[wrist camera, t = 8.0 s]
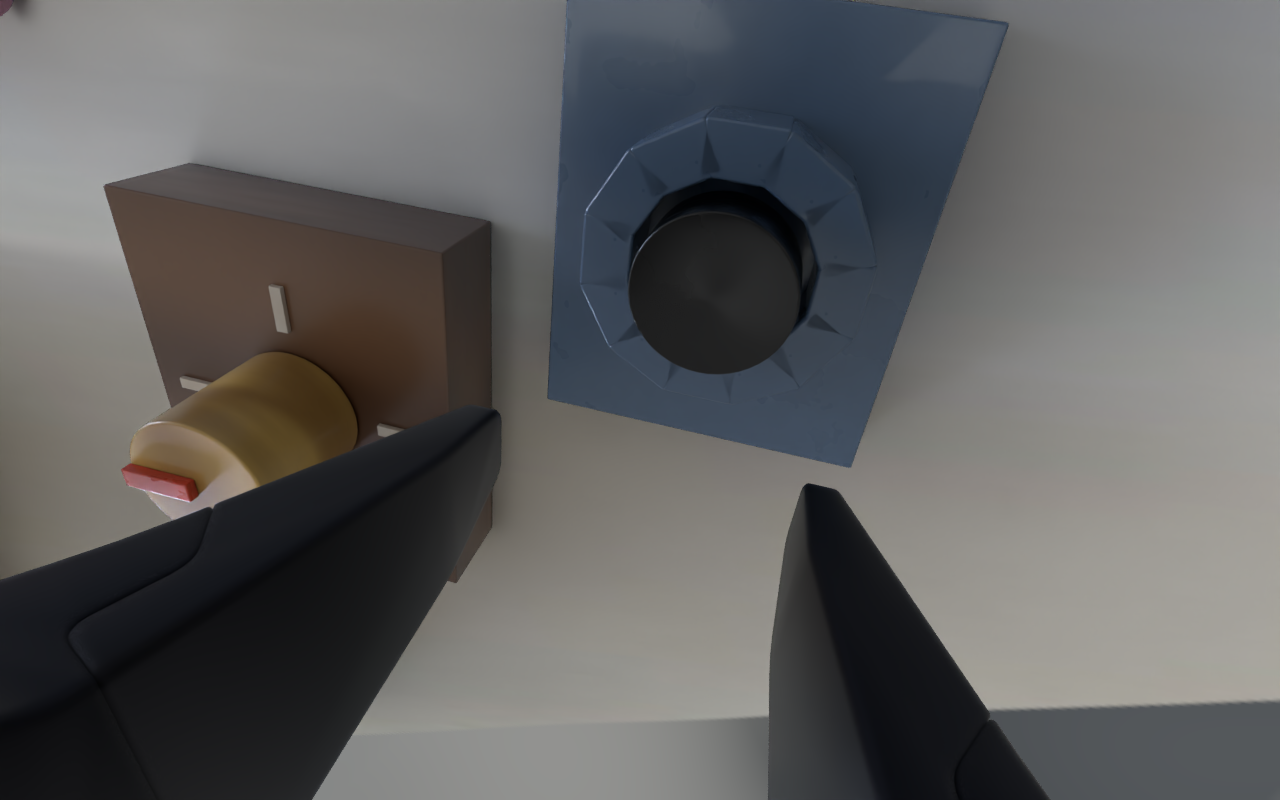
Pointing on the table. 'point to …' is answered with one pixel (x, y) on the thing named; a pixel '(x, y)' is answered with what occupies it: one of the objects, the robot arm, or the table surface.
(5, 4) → the video game controller
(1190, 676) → the table surface
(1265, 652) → the table surface
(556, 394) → the button box
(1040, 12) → the table surface
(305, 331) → the dial panel
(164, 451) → the dial
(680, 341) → the button
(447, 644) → the table surface
